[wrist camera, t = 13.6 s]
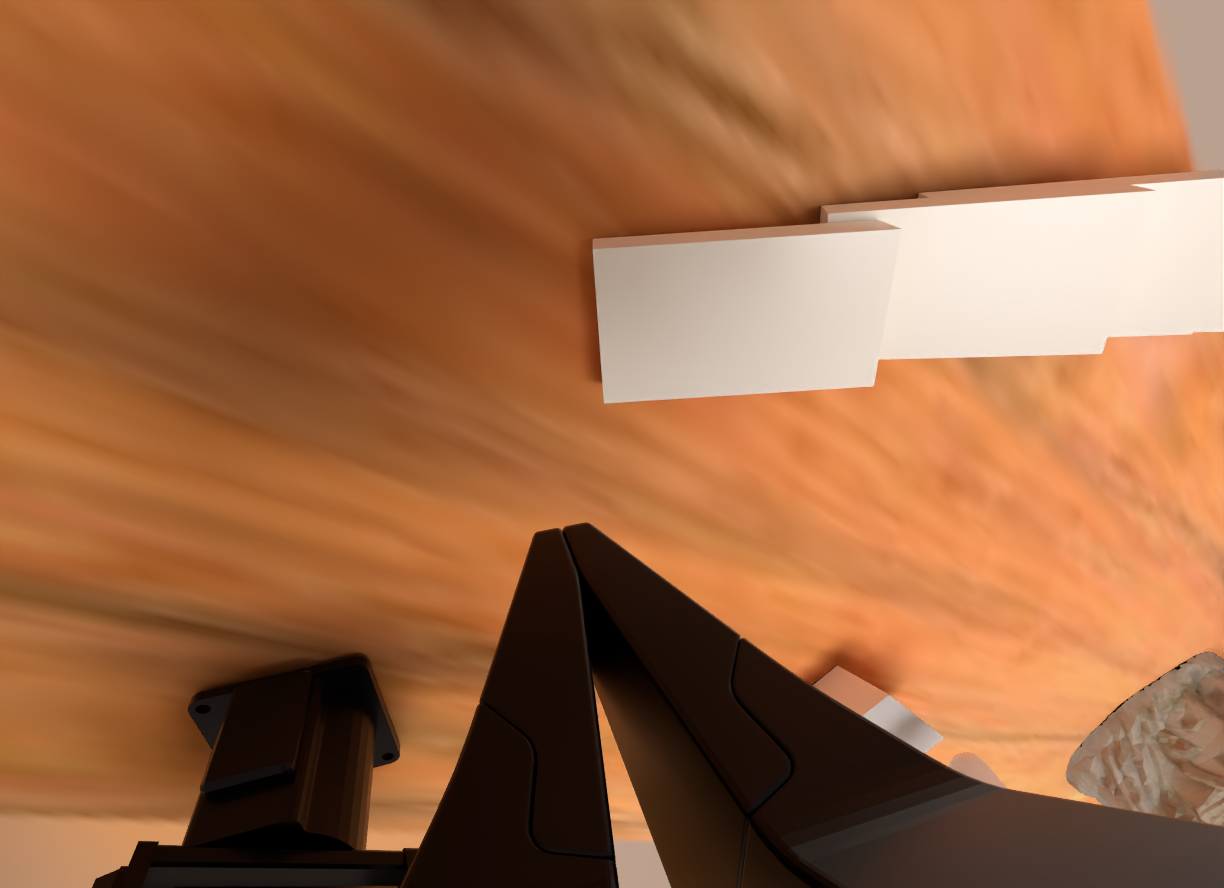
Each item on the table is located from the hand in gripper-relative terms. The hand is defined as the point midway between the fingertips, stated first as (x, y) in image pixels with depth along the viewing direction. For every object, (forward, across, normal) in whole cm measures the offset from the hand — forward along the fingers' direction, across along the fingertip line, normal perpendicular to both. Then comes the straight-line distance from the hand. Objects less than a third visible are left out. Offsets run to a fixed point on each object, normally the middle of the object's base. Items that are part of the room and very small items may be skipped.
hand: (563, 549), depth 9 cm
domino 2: (+11, -11, 0) cm, 16 cm away
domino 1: (+11, -3, 0) cm, 11 cm away
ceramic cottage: (+12, -49, +41) cm, 65 cm away
